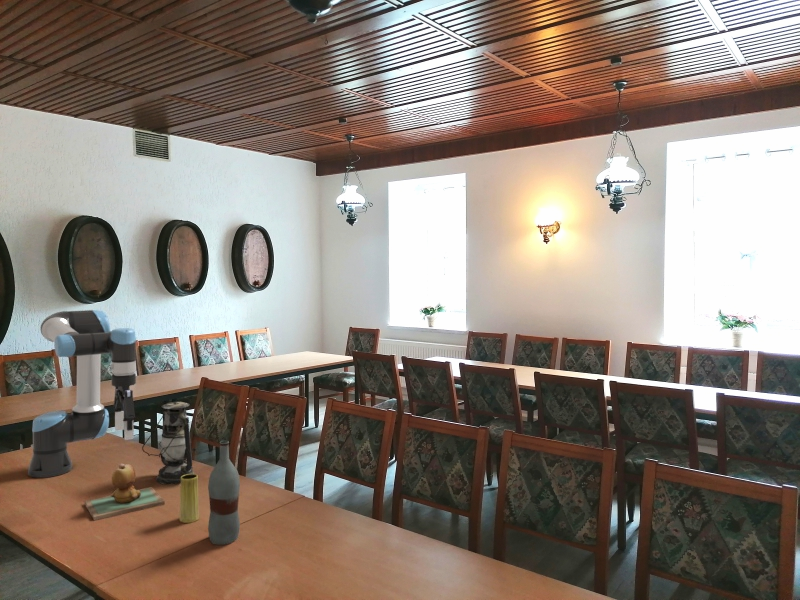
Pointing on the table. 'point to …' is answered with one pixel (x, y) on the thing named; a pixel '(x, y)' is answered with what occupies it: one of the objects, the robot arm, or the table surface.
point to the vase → (189, 498)
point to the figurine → (124, 484)
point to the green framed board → (111, 508)
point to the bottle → (224, 500)
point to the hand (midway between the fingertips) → (124, 434)
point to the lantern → (174, 444)
